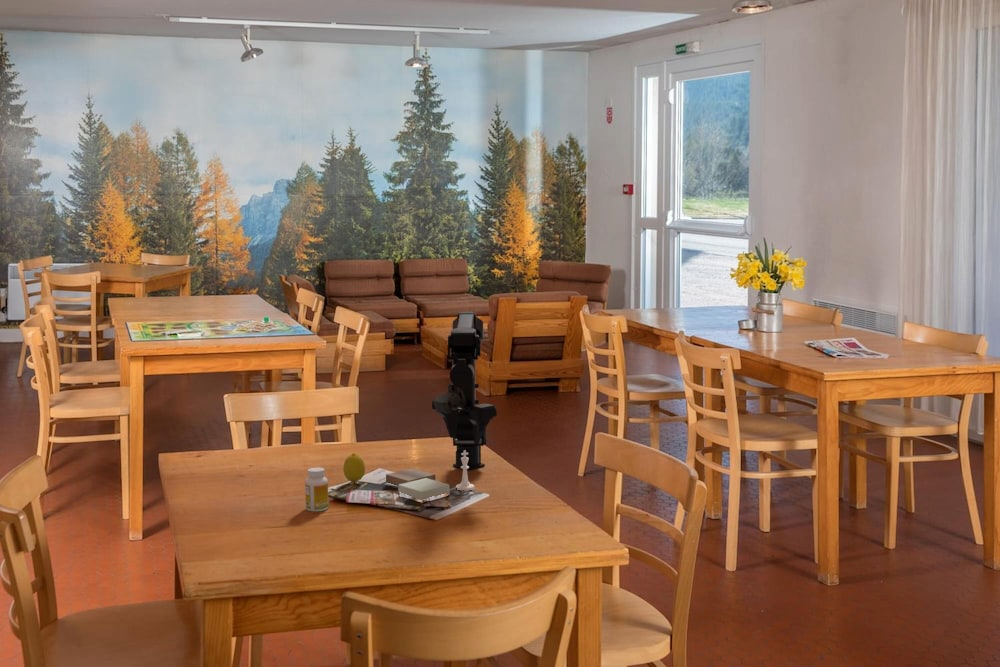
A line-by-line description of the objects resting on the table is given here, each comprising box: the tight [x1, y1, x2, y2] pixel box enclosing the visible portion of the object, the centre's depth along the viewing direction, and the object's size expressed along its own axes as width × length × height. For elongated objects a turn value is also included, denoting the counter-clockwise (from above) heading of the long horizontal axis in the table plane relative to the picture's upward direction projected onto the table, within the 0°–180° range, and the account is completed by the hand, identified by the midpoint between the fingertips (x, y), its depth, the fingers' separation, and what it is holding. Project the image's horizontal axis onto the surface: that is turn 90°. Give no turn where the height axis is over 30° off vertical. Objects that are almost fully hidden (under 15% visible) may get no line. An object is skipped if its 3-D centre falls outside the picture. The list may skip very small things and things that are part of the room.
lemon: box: [342, 453, 366, 483], centre depth 287 cm, size 6×6×8 cm
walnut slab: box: [385, 467, 436, 486], centre depth 285 cm, size 9×9×3 cm
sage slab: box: [397, 478, 451, 500], centre depth 275 cm, size 9×9×3 cm
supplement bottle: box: [304, 467, 329, 513], centre depth 264 cm, size 5×5×10 cm
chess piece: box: [455, 450, 475, 491], centre depth 281 cm, size 5×5×10 cm
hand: (464, 440), depth 280 cm, fingers open, 9 cm apart
